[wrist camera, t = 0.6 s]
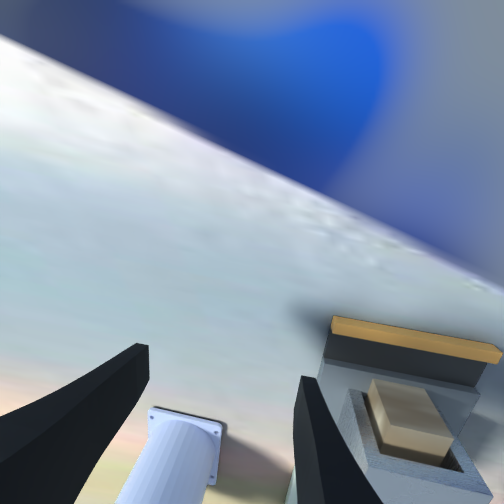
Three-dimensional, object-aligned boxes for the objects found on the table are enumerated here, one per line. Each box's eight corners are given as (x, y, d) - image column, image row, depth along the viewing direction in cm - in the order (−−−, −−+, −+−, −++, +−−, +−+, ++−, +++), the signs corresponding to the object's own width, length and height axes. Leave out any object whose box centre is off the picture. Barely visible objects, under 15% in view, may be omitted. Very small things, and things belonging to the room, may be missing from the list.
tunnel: (418, 448, 22) (460, 543, 17) (335, 430, 23) (348, 514, 17) (438, 406, 21) (493, 496, 15) (348, 388, 21) (368, 466, 16)
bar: (370, 509, 26) (383, 568, 22) (330, 499, 26) (336, 555, 22) (424, 388, 20) (454, 438, 17) (372, 378, 21) (390, 425, 17)
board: (372, 573, 30) (375, 586, 29) (273, 545, 32) (273, 557, 31) (492, 344, 19) (503, 353, 18) (333, 315, 21) (335, 322, 20)
